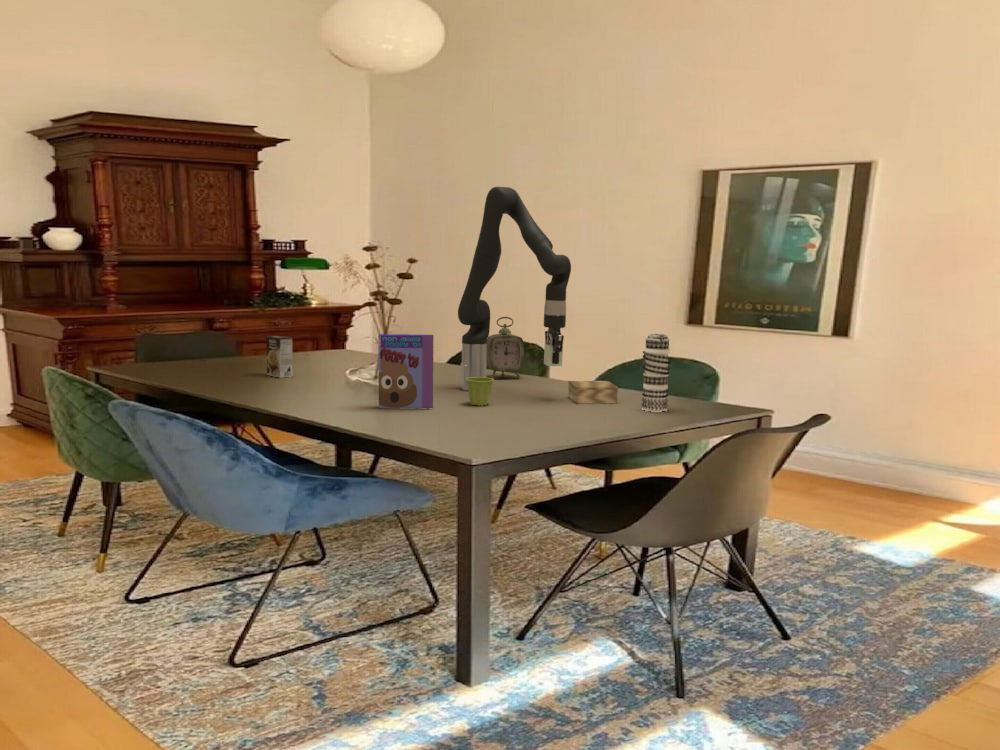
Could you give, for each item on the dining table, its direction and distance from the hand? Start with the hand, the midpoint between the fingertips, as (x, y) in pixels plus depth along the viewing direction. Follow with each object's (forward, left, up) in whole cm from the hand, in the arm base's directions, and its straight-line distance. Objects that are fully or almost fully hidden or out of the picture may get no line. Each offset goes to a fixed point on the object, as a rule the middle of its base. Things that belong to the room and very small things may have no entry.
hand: (552, 362), depth 296 cm
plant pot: (-27, -4, -14) cm, 30 cm away
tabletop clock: (-4, +52, -13) cm, 54 cm away
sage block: (0, 0, -1) cm, 1 cm away
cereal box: (-52, -6, -14) cm, 54 cm away
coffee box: (-92, +69, -14) cm, 116 cm away
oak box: (+14, -2, -14) cm, 20 cm away
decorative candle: (+28, -23, -13) cm, 39 cm away
